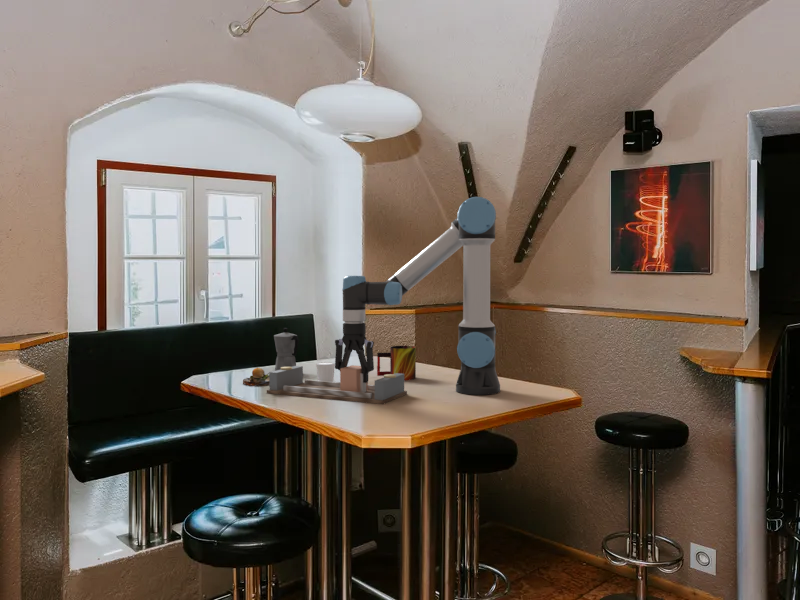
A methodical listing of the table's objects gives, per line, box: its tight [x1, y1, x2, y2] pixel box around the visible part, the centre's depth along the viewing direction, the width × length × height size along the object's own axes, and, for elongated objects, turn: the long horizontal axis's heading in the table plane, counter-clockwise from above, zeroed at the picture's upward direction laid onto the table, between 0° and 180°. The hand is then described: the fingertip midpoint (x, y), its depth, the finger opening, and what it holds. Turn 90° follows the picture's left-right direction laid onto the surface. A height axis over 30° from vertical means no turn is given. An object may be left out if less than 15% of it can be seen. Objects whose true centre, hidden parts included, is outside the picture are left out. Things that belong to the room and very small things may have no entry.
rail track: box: [266, 379, 408, 405], centre depth 232 cm, size 44×18×2 cm, turn 65°
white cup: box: [315, 361, 335, 382], centre depth 255 cm, size 7×7×7 cm
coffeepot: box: [273, 327, 300, 371], centre depth 276 cm, size 15×9×18 cm, turn 43°
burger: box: [242, 367, 270, 387], centre depth 253 cm, size 12×12×8 cm
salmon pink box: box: [339, 365, 369, 392], centre depth 229 cm, size 6×8×8 cm
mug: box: [376, 345, 417, 381], centre depth 262 cm, size 10×14×12 cm
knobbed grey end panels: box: [268, 365, 405, 400], centre depth 232 cm, size 44×16×7 cm, turn 65°
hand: (354, 391), depth 229 cm, fingers closed on salmon pink box, 6 cm apart
